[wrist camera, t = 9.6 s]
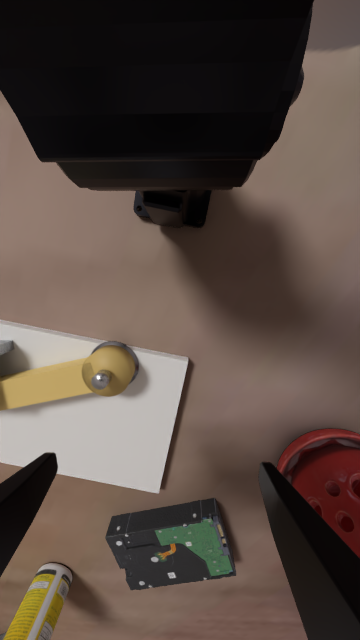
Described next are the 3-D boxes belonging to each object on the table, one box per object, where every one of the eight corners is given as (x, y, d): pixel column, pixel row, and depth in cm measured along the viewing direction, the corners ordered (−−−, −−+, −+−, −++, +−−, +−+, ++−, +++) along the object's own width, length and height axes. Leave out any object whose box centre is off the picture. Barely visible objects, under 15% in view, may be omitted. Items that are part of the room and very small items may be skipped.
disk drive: (137, 561, 28) (233, 547, 26) (131, 592, 25) (238, 578, 23) (112, 510, 26) (214, 492, 24) (102, 538, 23) (217, 519, 21)
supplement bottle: (33, 574, 28) (-46, 725, 19) (49, 555, 27) (-27, 705, 18) (63, 589, 29) (1, 744, 19) (80, 571, 28) (23, 726, 18)
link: (128, 340, 18) (121, 347, 16) (140, 381, 19) (135, 391, 17) (-17, 372, 19) (-37, 381, 18) (1, 409, 20) (-16, 421, 19)
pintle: (92, 336, 18) (71, 348, 15) (142, 346, 19) (132, 360, 15) (87, 381, 20) (67, 402, 16) (135, 391, 20) (124, 413, 16)
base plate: (-45, 310, 20) (-57, 312, 19) (188, 357, 20) (188, 361, 19) (-35, 446, 23) (-45, 453, 22) (159, 484, 23) (158, 493, 22)
